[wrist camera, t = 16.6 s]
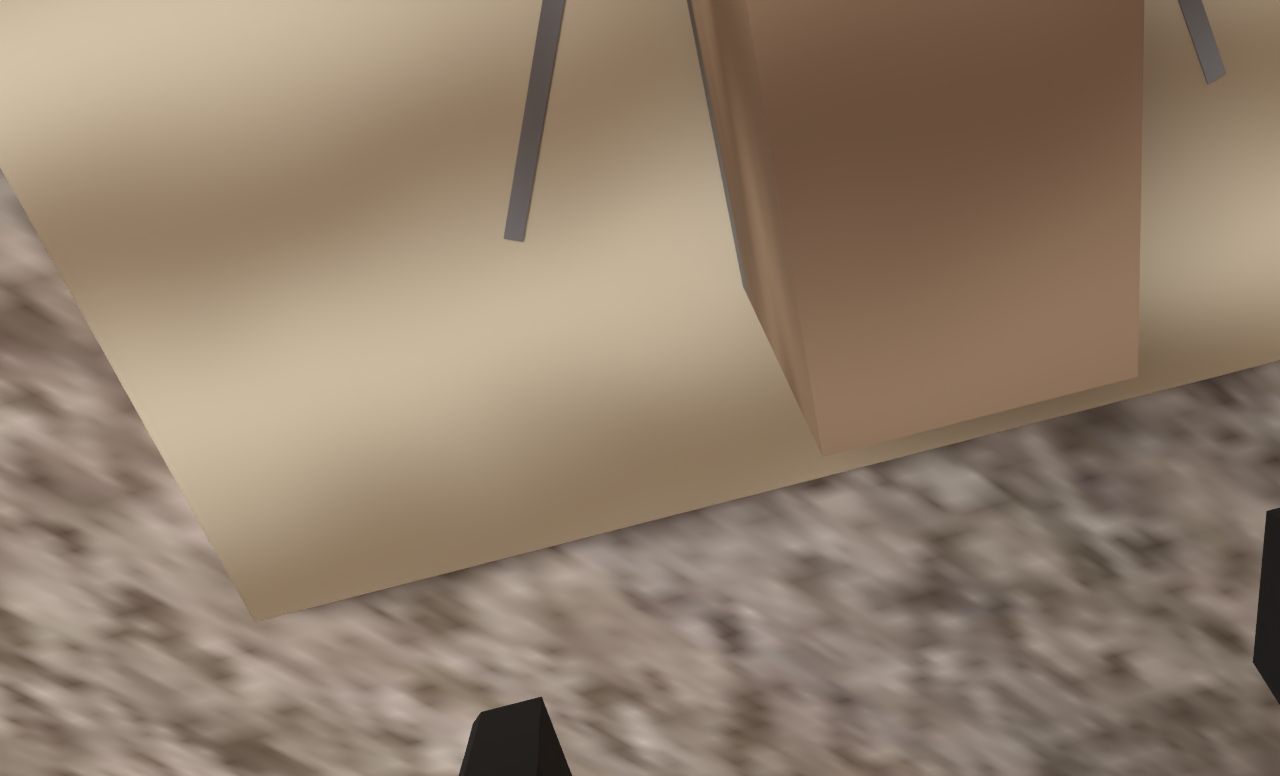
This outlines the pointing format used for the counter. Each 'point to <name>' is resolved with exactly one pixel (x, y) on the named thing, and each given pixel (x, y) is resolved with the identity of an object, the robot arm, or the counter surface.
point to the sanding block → (931, 199)
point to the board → (507, 264)
